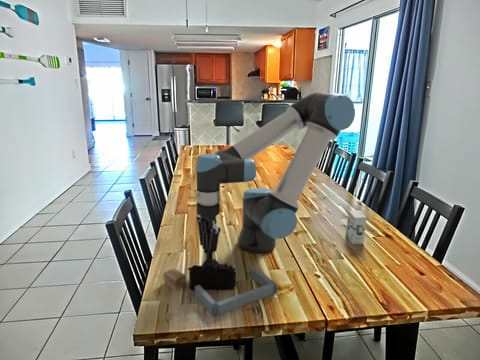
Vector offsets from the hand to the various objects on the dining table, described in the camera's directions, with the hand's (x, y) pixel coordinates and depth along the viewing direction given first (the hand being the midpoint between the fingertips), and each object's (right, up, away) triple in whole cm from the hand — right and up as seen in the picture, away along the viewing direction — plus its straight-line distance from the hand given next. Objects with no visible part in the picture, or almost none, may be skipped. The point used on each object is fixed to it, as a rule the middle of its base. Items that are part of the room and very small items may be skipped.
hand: (208, 267), depth 121 cm
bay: (+10, -5, -12) cm, 17 cm away
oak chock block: (-10, -4, -8) cm, 13 cm away
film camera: (+2, -4, -6) cm, 7 cm away
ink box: (+59, +5, +27) cm, 65 cm away
